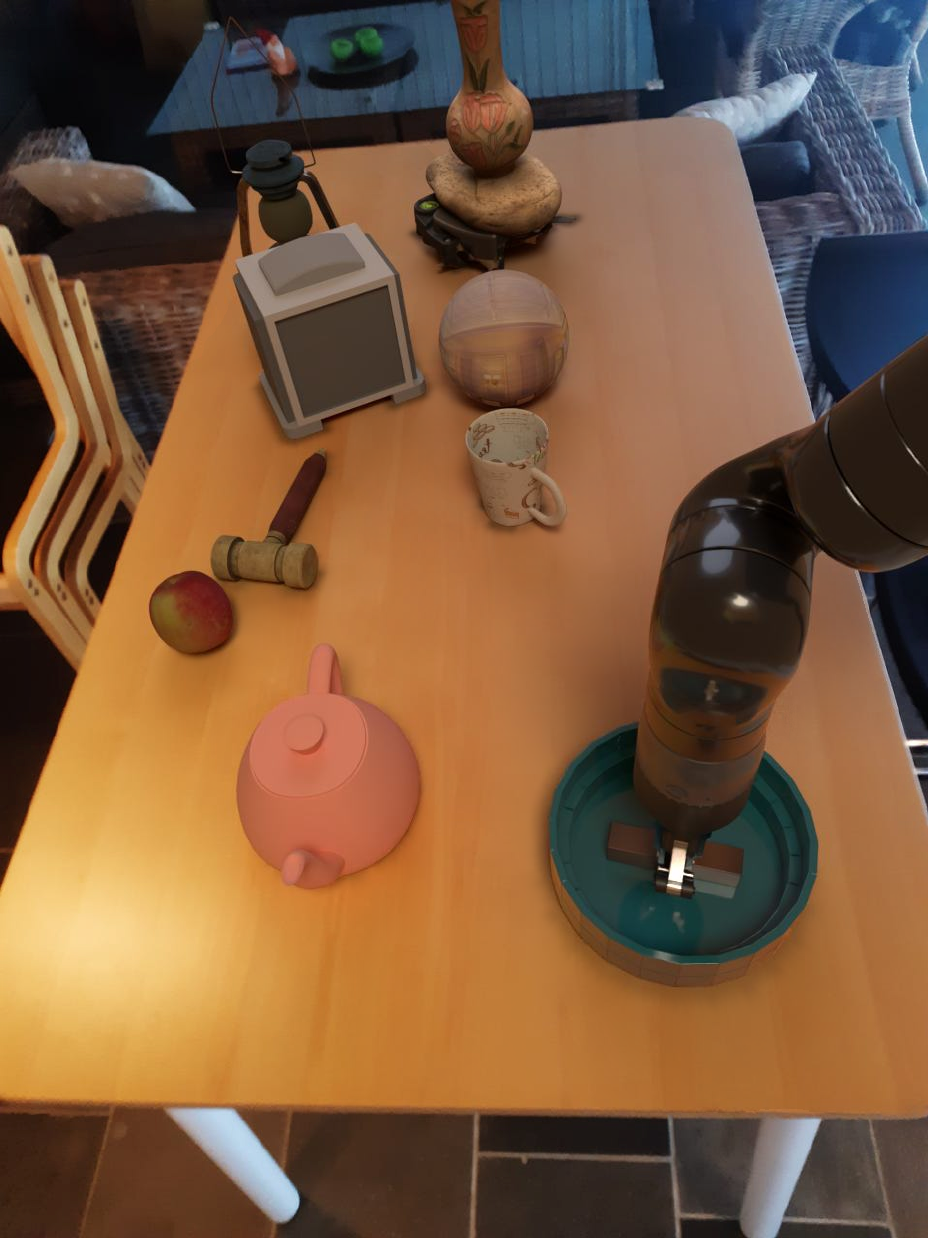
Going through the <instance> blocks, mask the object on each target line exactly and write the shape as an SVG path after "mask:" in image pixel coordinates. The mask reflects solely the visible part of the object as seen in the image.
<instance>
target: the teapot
mask: <svg viewBox="0 0 928 1238" xmlns="http://www.w3.org/2000/svg"><path fill="white" fill-rule="evenodd" d="M307 673H308V675H307V683H306V684H307V685H306V694H302V695H297V696H294V697H291V698H288V699H286V700H284V701H282V702H280V703H279V704H277V705H276V706H275V707H273V708H272V709H271V710H270V711H268V712H267V714H266V715H265V716H264V717H263V718H262V719H261V720H260V721H259V722H258V724H257V726H256V728H255V729H254V730H253V732H252V733H251V735H250V738H249V740H248V742H247V744H246V746H245V747H244V751H243V753H242V756H241V759H240V761H239V766H238V771H237V777H236V788H235V792H236V793H235V794H236V806H237V811H238V817H239V820H240V823H241V827H242V829H243V832H244V835H245V837H246V839H247V841H248V843H249V844H250V846H251V848H252V849H253V850H254V852H255V853H256V854H257V856H258V857H259V858H260V859H261V860H263V861H264V862H265V863H266V864H267V865H269V866H270V867H271V868H273V869H275V870H278V871H279V872H280V876H281V881H282V883H283V884H284V885H285V886H286V887H291V886H295V887H297V888H299V889H303V890H317V889H321V888H322V889H323V888H325V887H328V886H331V885H332V884H333V883H334V882H336V880H337V879H338V878H339V877H343V876H346V875H350V874H351V875H352V874H354V873H356V872H360V871H363V870H365V869H367V868H369V867H371V866H373V865H374V864H376V863H378V862H379V861H380V860H382V859H384V858H385V856H387V855H388V854H389V853H390V852H391V851H392V850H393V849H394V848H395V847H396V846H397V845H398V844H399V843H400V841H401V840H402V839H403V837H404V836H405V834H406V832H407V831H408V829H409V827H410V825H411V823H412V821H413V819H414V816H415V813H416V810H417V808H418V803H419V798H420V791H421V774H420V768H419V763H418V760H417V757H416V754H415V751H414V749H413V746H412V744H411V742H410V740H409V739H408V737H407V735H406V734H405V733H404V731H403V730H402V729H401V727H400V726H399V724H397V723H396V722H395V720H394V719H393V718H392V717H390V715H389V714H387V713H386V712H385V711H384V710H382V709H381V708H379V707H377V705H374V704H373V703H370V702H368V701H367V700H364V699H360V698H358V697H356V696H350V695H346V694H345V693H344V685H343V680H342V673H341V666H340V662H339V658H338V655H337V651H336V649H335V647H334V646H332V645H331V644H329V643H320V644H318V645H316V646H315V647H314V649H313V650H312V653H311V655H310V661H309V666H308V672H307Z"/></svg>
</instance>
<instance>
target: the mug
mask: <svg viewBox="0 0 928 1238" xmlns="http://www.w3.org/2000/svg"><path fill="white" fill-rule="evenodd" d="M549 432H550V431H549V429H548V425H547V424H546V422H545V420H543V418H542V417H540V416H538V414H535V413H534V412H531V411H529V410H525V409H522V408H500V409H495V410H492V411H489V412H487V413H484V414H483V415H481V416H479V417H477V418H476V419H475V420H474V421H473V422H472V423H471V424H470V425H469V427H468V428H467V431H466V432H465V433H466V434H465V438H464V440H465V441H464V442H465V447H466V451H467V455H468V458H469V462H470V465H471V468H472V472H473V475H474V478H475V482H476V485H477V488H478V491H479V495H480V498H481V501H482V506H483V508H484V511H485V513H486V515H487V517H488V518H489V519H490V520H491V521H492V522H494V523H496V524H499V525H500V526H506V527H515V526H520V525H524V524H526V523H528V522H530V521H531V520H533V519H534V518H535V519H536V520H537V521H539V522H540V523H542V524H543V525H546V526H552V527H553V526H559V525H561V524H562V523H564V522H565V520H566V519H567V515H568V508H567V503H566V500H565V499H566V498H565V497H564V495H563V493H562V491H561V489H560V487H559V486H558V485H557V483H556V481H554V480H553V478H551V477H550V475H548V474H546V468H547V467H546V466H547V459H548V451H549V443H550V433H549ZM544 487H545V488H547V490H548V491H549V493H550V494H551V496H552V498H553V501H554V503H555V507H556V511H555V513H554V514H553V515H550V516H548V515H545V514H543V513H542V511H540V509H541V503H542V498H543V497H542V496H543V489H544Z"/></svg>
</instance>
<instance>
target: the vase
mask: <svg viewBox="0 0 928 1238" xmlns="http://www.w3.org/2000/svg"><path fill="white" fill-rule="evenodd" d="M449 2H450V6H451V10H452V15H453V19H454V23H455V27H456V33H457V38H458V44H459V49H460V56H461V62H462V84H461V87H460V89H459V91H458V93H457V94H456V96H455V97H454V98H453V100H452V101H451V103H450V105H449V108H448V110H447V114H446V119H445V129H446V130H445V131H446V136H447V141H448V144H449V146H450V148H451V150H452V151H450V152H446V153H444V154H441V155H438V156H437V157H435V158H434V159H433V160H432V161H431V162H429V164H428V166H427V167H426V169H425V181H426V183H427V184H428V186H429V187H430V189H431V190H432V191H433V193H430V194H427V195H426V196H423V197H422V198H420V199H418V200H417V201H416V202H415V203H414V204H413V215H414V222H415V234H417V235H419V236H421V240H422V242H423V244H424V245H426V246H428V247H431V248H432V249H434V250H435V251H436V252H437V253H438V255H439V257H440V259H441V263H439V264H438V263H437V264H436V267H437V268H443V267H451V268H453V269H459V268H464V267H466V266H468V263H467V262H468V261H476V262H479V263H480V264H481V265H483V266H484V267H485V268H487V270H488V272H490V271H494V270H493V269H496V270H505V254H504V251H505V249H507V248H511V247H516V246H519V245H522V244H532V245H537V239H536V238H537V237H538V236H540V235H543V234H546V233H547V232H548V231H550V230H551V229H552V228H553V227H554V225H553V223H566V224H570V223H572V222H573V220H575V221H576V220H577V218H576V217H574V218H573V217H572V218H571V217H566V216H561V215H557V214H558V212H559V210H560V209H561V205H562V198H563V190H562V185H561V183H560V181H559V179H558V178H557V176H556V175H555V174H554V173H553V172H552V171H551V170H550V169H549V168H548V167H547V166H546V164H545V163H544V162H543V161H542V160H541V159H540V158H537V157H536V156H534V155H531V154H528V153H525V152H526V150H527V148H528V146H529V144H530V142H531V140H532V135H533V131H534V130H533V129H534V116H533V111H532V108H531V105H530V103H529V100H528V99H527V97H526V96H525V94H524V93H523V92H522V91H521V90H520V89H519V88H518V87H516V86H515V85H514V84H513V83H512V82H511V81H510V80H509V79H508V77H507V75H506V71H505V67H504V61H503V53H502V39H501V38H502V37H501V0H449ZM519 235H521V236H519ZM458 252H464V253H465V254H466V255H467V256H468V258H467V259H466V260H465V261H464V260H462V259H461V258H460V257H459V256H458Z"/></svg>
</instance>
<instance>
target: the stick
mask: <svg viewBox="0 0 928 1238" xmlns="http://www.w3.org/2000/svg"><path fill="white" fill-rule="evenodd" d="M654 838H655V831H654V830H649V829H644V828H639V827H634V826H629V825H625V824H620V823H615V822H612V823H611V828H610V834H609V839H608V845H607V857H606V859H607V860H611V861H616V862H621V863H625V864H630V865H635V866H639V867H644V868H649V869H653V870H657V866H658V858H656V856H657V851H659V850H657V849H655V848H654V847H653V844H654ZM743 854H744V849H742V848H737V847H732V846H727V845H723V844H718V843H713V842H708V841H706V843H705V847H704V851H703V855H702V857H700V858H694V859H695V862H694V866H693V865H692V869H691V870H688V871H690V872H694V878H695V879H700V880H704V881H709V882H714V883H718V884H723V885H728V886H732V887H737V886H738V884H739V881H740V878H741V876H742V866H743Z"/></svg>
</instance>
